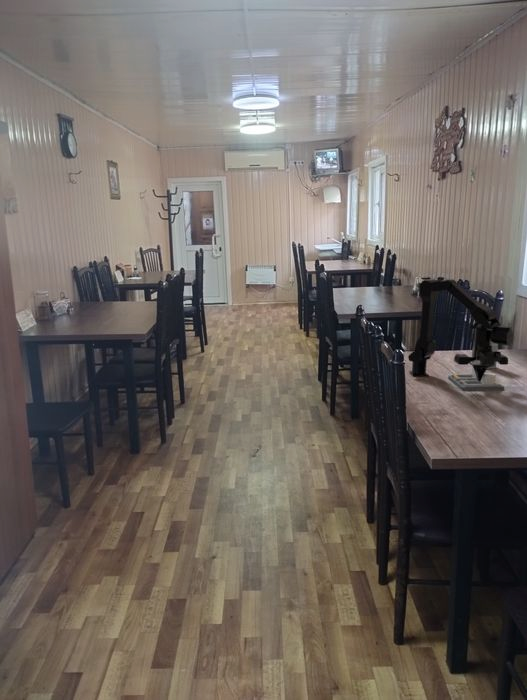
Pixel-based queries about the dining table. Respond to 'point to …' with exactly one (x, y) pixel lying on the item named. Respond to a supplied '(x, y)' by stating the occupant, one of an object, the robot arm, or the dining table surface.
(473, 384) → the switch panel
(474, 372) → the light grey cube
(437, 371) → the dining table surface
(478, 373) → the robot arm
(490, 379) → the beige cube
